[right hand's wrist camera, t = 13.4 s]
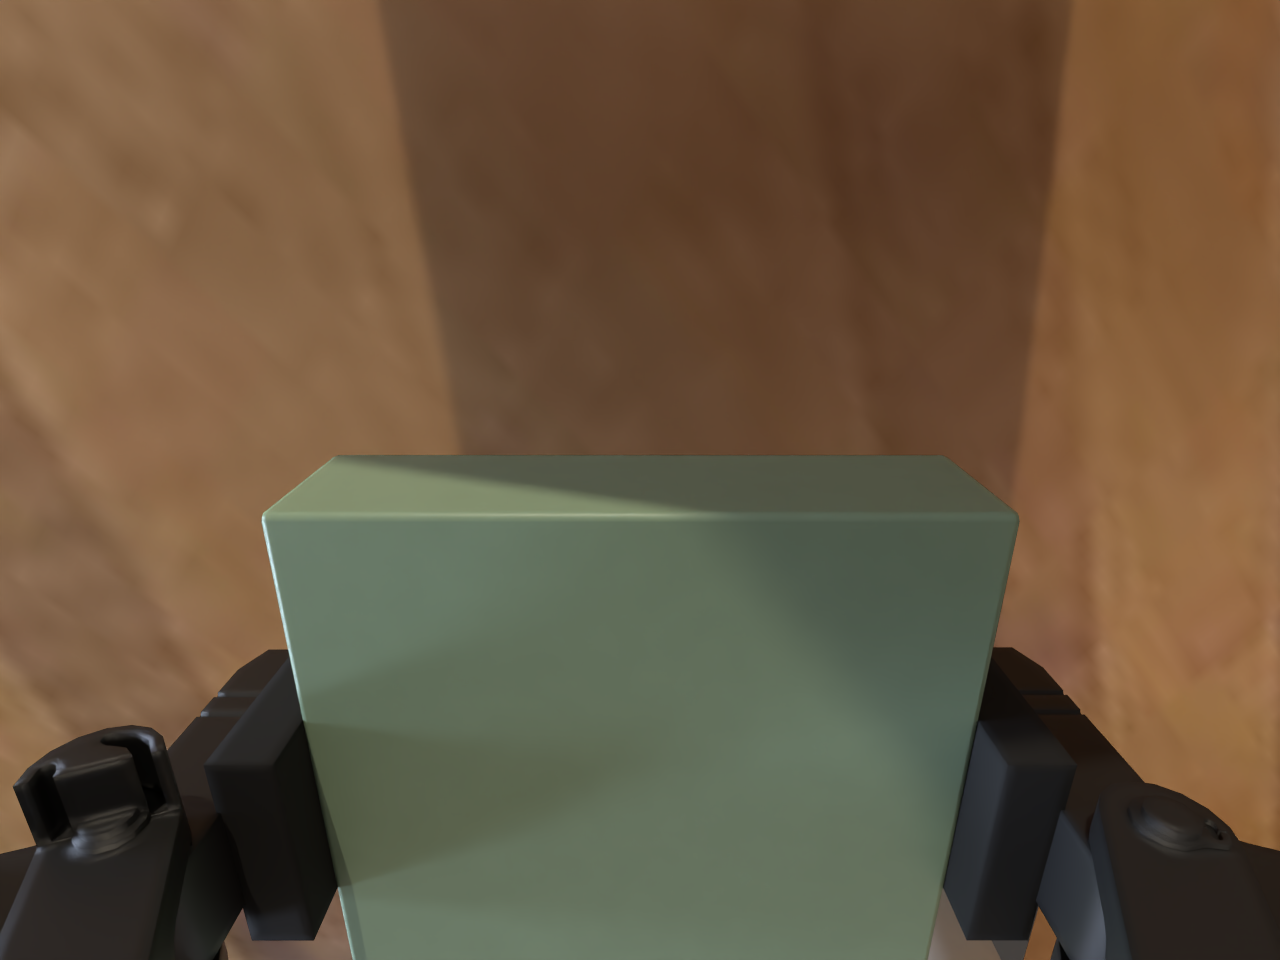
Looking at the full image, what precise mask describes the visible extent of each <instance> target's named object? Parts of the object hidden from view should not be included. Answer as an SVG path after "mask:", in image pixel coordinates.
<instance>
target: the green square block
mask: <svg viewBox="0 0 1280 960" xmlns="http://www.w3.org/2000/svg"><path fill="white" fill-rule="evenodd" d="M262 526H263V531H264V536H265V540H266V545H267V550H268V555H269V560H270V564H271V569H272V574H273V579H274V584H275V589H276V593H277V598H278V603H279V608H280V613H281V617H282V622H283V627H284V632H285V637H286V641H287V646H288V651H289V656H290V661H291V665H292V670H293V675H294V680H295V685H296V689H297V694H298V699H299V704H300V709H301V713H302V718H303V723H304V728H305V733H306V737H307V742H308V747H309V752H310V757H311V761H312V766H313V771H314V776H315V781H316V786H317V790H318V795H319V800H320V805H321V810H322V814H323V819H324V824H325V829H326V834H327V838H328V843H329V848H330V853H331V858H332V862H333V867H334V872H335V877H336V882H337V886H338V891H339V896H340V901H341V906H342V910H343V915H344V920H345V925H346V930H347V934H348V939H349V944H350V949H351V954H352V958H353V960H928V956H929V951H930V946H931V942H932V937H933V932H934V927H935V923H936V918H937V913H938V908H939V903H940V899H941V894H942V889H943V884H944V880H945V875H946V870H947V865H948V860H949V856H950V851H951V846H952V841H953V837H954V832H955V827H956V822H957V817H958V813H959V808H960V803H961V798H962V794H963V789H964V784H965V779H966V774H967V770H968V765H969V760H970V755H971V751H972V746H973V741H974V736H975V731H976V727H977V722H978V717H979V712H980V708H981V703H982V698H983V693H984V688H985V684H986V679H987V674H988V669H989V665H990V660H991V655H992V650H993V646H994V641H995V636H996V631H997V626H998V622H999V617H1000V612H1001V607H1002V603H1003V598H1004V593H1005V588H1006V583H1007V579H1008V574H1009V569H1010V564H1011V560H1012V555H1013V550H1014V545H1015V540H1016V536H1017V531H1018V526H1019V516H1018V513H1017V512H1015V511H1014V510H1013V509H1012V508H1010V507H1009V506H1008V505H1007V504H1005V503H1004V502H1003V501H1002V500H1000V499H999V498H998V497H996V496H995V495H994V494H993V493H991V492H990V491H989V490H988V489H986V488H985V487H984V486H983V485H981V484H980V483H979V482H978V481H976V480H975V479H974V478H973V477H971V476H970V475H969V474H968V473H966V472H965V471H964V470H962V469H961V468H960V467H959V466H957V465H956V464H955V463H954V462H952V461H951V460H950V459H949V458H947V457H945V456H943V455H338V456H335V457H333V458H332V459H331V460H329V461H328V462H327V463H326V464H324V465H323V466H322V467H321V468H319V469H318V470H317V471H316V472H314V473H313V474H312V475H311V476H309V477H308V478H307V479H305V480H304V481H303V482H302V483H300V484H299V485H298V486H297V487H295V488H294V489H293V490H292V491H290V492H289V493H288V494H287V495H285V496H284V497H283V498H282V499H280V500H279V501H278V502H276V503H275V504H274V505H273V506H271V507H270V508H269V509H268V510H266V511H265V512H264V513H263V515H262Z"/></svg>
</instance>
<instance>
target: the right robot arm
mask: <svg viewBox="0 0 1280 960" xmlns="http://www.w3.org/2000/svg"><path fill="white" fill-rule="evenodd" d="M13 789H14V791H15V793H16V796H17V798H18V801H19V803H20V806H21V808H22V811H23V813H24V816H25V818H26V821H27V823H28V825H29V828H30V830H31V833H32V835H33V838H34V840H35V843H36V846H32V847H28V848H24V849H20V850H15V851H11V852H7V853H3V854H0V960H228V954H227V949H226V946H225V943H224V940H225V938H226V936H227V934H228V933H229V931H230V929H231V927H232V926H233V924H234V922H235V920H236V919H237V917H238V915H239V913H240V912H241V910H242V908H243V909H244V913H245V917H246V920H247V924H248V927H249V931H250V935H251V938H252V940H314V939H315V937H316V934H317V932H318V930H319V928H320V925H321V923H322V921H323V919H324V917H325V914H326V912H327V910H328V908H329V905H330V903H331V901H332V899H333V896H334V894H335V892H336V890H337V887H338V886H337V882H336V877H335V872H334V867H333V862H332V858H331V853H330V848H329V843H328V838H327V834H326V829H325V824H324V819H323V814H322V810H321V805H320V800H319V795H318V790H317V786H316V781H315V776H314V771H313V766H312V761H311V757H310V752H309V747H308V742H307V737H306V733H305V728H304V723H303V718H302V713H301V709H300V704H299V699H298V694H297V689H296V685H295V680H294V675H293V670H292V665H291V661H290V656H289V651H288V650H268V651H266V652H265V653H263V654H261V655H260V656H258V657H257V658H255V659H254V660H252V661H251V662H249V663H248V664H246V665H245V666H243V667H242V668H240V669H238V671H237V672H236V673H235V674H234V675H233V676H232V677H231V679H230V680H229V681H228V682H227V683H226V684H225V685H224V686H223V688H222V689H221V690H220V691H219V692H218V697H214V698H213V699H212V700H211V701H210V702H209V704H208V705H207V706H206V707H205V708H204V709H203V710H202V712H201V716H200V717H196V718H195V719H194V721H193V722H192V723H191V724H190V725H189V726H188V727H187V729H186V730H185V731H184V732H183V733H182V734H181V735H180V737H179V738H178V739H177V740H176V741H175V742H174V743H173V745H172V746H171V747H170V748H169V749H168V750H167V749H166V746H165V742H164V739H163V736H162V735H160V734H159V733H158V732H156V731H155V730H154V729H152V728H149V727H142V726H134V725H129V726H121V727H114V728H106V729H103V730H100V731H97V732H94V733H91V734H87V735H84V736H81V737H78V738H76V739H74V740H72V741H70V742H68V743H66V744H64V745H62V746H60V747H58V748H56V749H54V750H52V751H50V752H49V753H48V754H46V755H45V756H44V757H42V758H41V759H40V760H38V761H37V762H36V763H34V764H33V765H32V766H30V767H29V768H27V770H26V771H25V772H24V773H23V775H22V776H21V777H20V778H19V780H18V781H17V782H16V783H15V785H14V786H13ZM943 889H944V891H945V893H946V895H947V898H948V900H949V902H950V904H951V907H952V909H953V911H954V913H955V916H956V918H957V920H958V922H959V924H960V927H961V929H962V931H963V933H964V936H965V938H966V940H1007V941H1028V940H1029V936H1030V933H1031V929H1032V926H1033V922H1034V918H1035V915H1036V911H1037V908H1038V905H1039V907H1040V909H1041V911H1042V912H1043V914H1044V916H1045V918H1046V919H1047V921H1048V923H1049V925H1050V926H1051V928H1052V930H1053V932H1054V933H1055V935H1056V937H1057V939H1056V943H1055V946H1054V949H1053V953H1052V956H1051V959H1050V960H1280V851H1278V850H1274V849H1269V848H1265V847H1261V846H1257V845H1253V844H1248V843H1245V842H1242V841H1239V840H1238V839H1237V837H1236V836H1235V834H1234V833H1233V831H1232V830H1231V828H1230V827H1229V826H1228V825H1227V824H1225V823H1224V822H1223V821H1222V820H1221V819H1219V818H1218V817H1217V816H1216V815H1215V814H1214V813H1212V812H1211V811H1210V810H1209V809H1207V808H1206V807H1204V806H1202V805H1200V804H1199V803H1197V802H1195V801H1193V800H1192V799H1190V798H1188V797H1186V796H1185V795H1183V794H1181V793H1178V792H1175V791H1172V790H1169V789H1167V788H1164V787H1161V786H1158V785H1155V784H1149V783H1145V782H1144V781H1143V780H1142V779H1141V778H1140V777H1139V776H1138V774H1137V773H1136V772H1135V771H1134V770H1133V769H1132V768H1131V767H1130V765H1129V764H1128V763H1127V762H1126V761H1125V760H1124V759H1123V758H1122V756H1121V755H1120V754H1119V753H1118V752H1117V751H1116V750H1115V748H1114V747H1113V746H1112V745H1111V744H1110V743H1109V742H1108V741H1107V739H1106V738H1105V737H1104V736H1103V735H1102V734H1101V733H1100V732H1099V730H1098V729H1097V728H1096V727H1095V726H1094V725H1093V724H1092V722H1091V721H1090V720H1089V719H1088V718H1087V717H1086V716H1085V715H1081V713H1080V709H1079V708H1078V707H1077V706H1076V704H1075V703H1074V702H1073V701H1072V700H1071V699H1070V698H1069V696H1068V695H1064V694H1063V690H1062V689H1061V687H1060V686H1059V685H1058V684H1057V683H1056V682H1055V681H1054V680H1053V678H1052V677H1051V676H1050V675H1049V674H1048V673H1047V672H1046V670H1045V669H1044V668H1043V667H1041V666H1040V665H1038V664H1037V663H1035V662H1034V661H1032V660H1031V659H1029V658H1028V657H1026V656H1024V655H1023V654H1021V653H1020V652H1018V651H1017V650H1015V649H1014V648H993V650H992V655H991V660H990V665H989V669H988V674H987V679H986V684H985V688H984V693H983V698H982V703H981V708H980V712H979V717H978V722H977V727H976V731H975V736H974V741H973V746H972V751H971V755H970V760H969V765H968V770H967V774H966V779H965V784H964V789H963V794H962V798H961V803H960V808H959V813H958V817H957V822H956V827H955V832H954V837H953V841H952V846H951V851H950V856H949V860H948V865H947V870H946V875H945V880H944V884H943Z"/></svg>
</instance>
